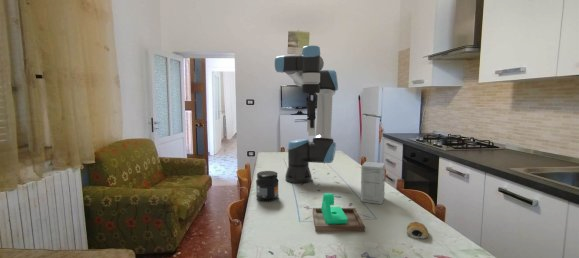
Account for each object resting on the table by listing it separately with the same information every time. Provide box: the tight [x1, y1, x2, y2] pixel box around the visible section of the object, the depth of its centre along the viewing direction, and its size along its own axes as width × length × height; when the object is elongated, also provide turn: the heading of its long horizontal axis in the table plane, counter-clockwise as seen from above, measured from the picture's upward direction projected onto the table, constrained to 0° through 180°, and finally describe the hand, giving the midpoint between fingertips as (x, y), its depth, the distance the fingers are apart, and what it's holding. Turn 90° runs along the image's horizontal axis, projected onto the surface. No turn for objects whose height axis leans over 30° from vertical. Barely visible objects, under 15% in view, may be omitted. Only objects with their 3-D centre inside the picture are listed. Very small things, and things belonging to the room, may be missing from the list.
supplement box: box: [360, 161, 386, 205], centre depth 130 cm, size 10×9×17 cm
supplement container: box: [255, 170, 279, 202], centre depth 133 cm, size 10×10×12 cm
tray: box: [312, 207, 366, 233], centre depth 108 cm, size 16×17×2 cm
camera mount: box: [321, 192, 348, 224], centre depth 108 cm, size 12×8×10 cm, turn 4°
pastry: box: [406, 221, 429, 240], centre depth 99 cm, size 9×7×4 cm
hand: (310, 133), depth 122 cm, fingers open, 13 cm apart
